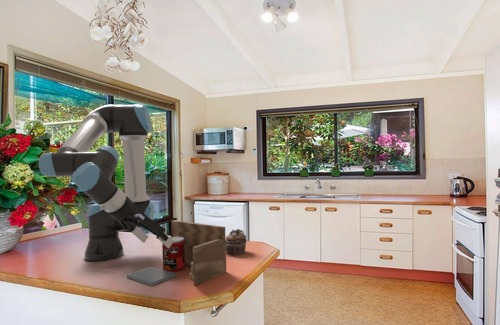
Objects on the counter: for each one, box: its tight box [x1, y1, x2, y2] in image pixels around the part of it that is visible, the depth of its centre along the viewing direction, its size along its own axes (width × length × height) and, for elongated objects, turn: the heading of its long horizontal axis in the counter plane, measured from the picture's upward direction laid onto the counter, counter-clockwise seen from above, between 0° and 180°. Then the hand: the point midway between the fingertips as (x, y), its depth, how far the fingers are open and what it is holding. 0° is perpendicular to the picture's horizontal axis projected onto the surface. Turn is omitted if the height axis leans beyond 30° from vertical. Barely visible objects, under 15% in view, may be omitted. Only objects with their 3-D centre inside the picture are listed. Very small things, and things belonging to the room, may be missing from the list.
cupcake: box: [225, 228, 247, 256], centre depth 134 cm, size 10×10×10 cm
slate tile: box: [126, 266, 177, 287], centre depth 107 cm, size 14×10×1 cm
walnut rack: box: [170, 219, 227, 286], centre depth 112 cm, size 27×14×16 cm, turn 54°
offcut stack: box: [189, 262, 193, 280], centre depth 107 cm, size 4×9×5 cm, turn 144°
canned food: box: [161, 236, 186, 273], centre depth 115 cm, size 8×8×11 cm
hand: (157, 242), depth 109 cm, fingers open, 13 cm apart
